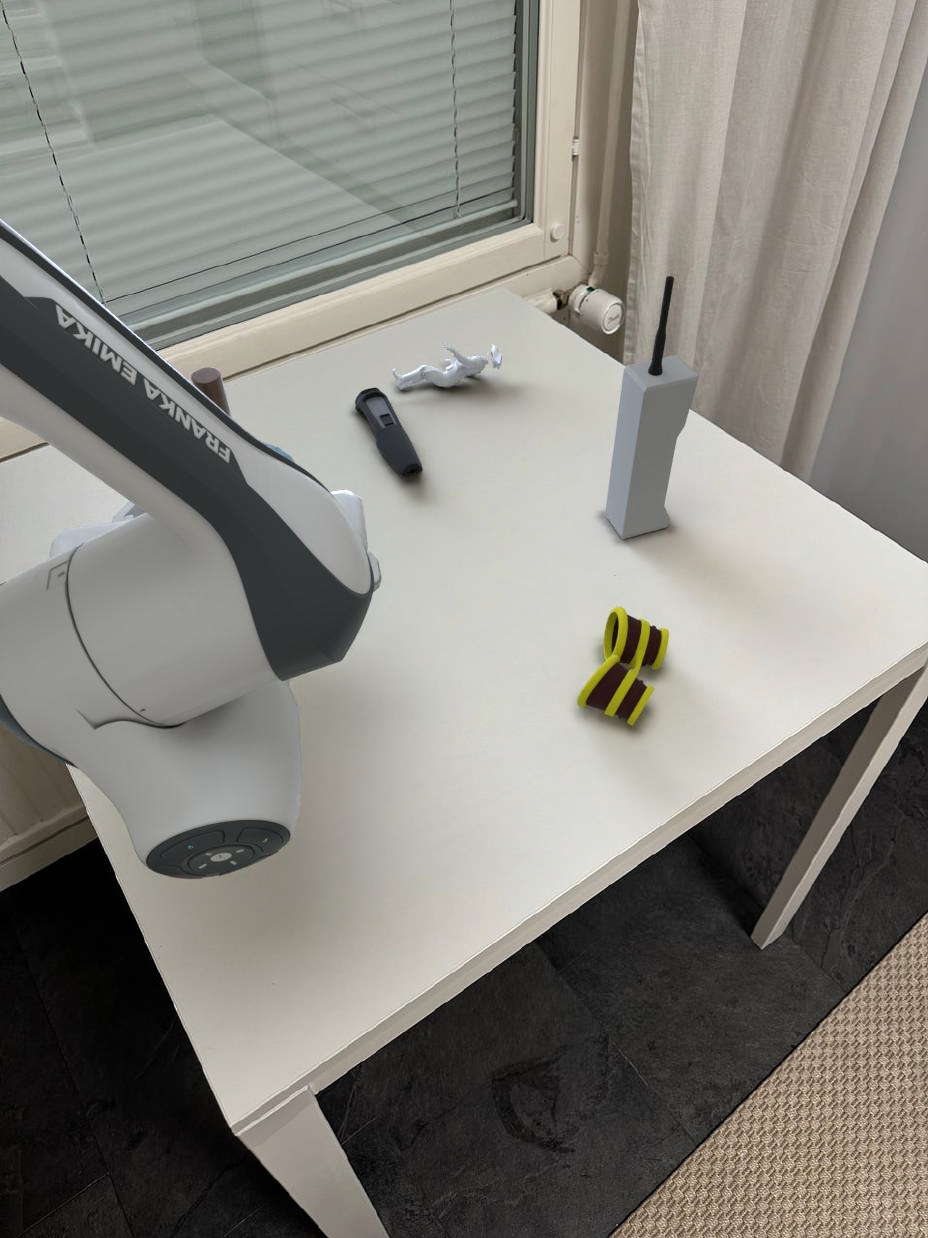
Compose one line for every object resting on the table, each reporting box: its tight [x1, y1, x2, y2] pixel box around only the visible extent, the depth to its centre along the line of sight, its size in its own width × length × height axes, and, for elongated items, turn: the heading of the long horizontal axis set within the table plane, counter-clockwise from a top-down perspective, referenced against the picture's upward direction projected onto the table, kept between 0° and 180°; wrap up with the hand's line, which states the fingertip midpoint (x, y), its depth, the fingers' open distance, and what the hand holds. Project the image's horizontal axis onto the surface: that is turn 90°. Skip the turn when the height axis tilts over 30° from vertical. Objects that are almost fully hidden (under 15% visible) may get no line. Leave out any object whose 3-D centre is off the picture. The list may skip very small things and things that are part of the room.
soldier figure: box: [392, 343, 503, 391], centre depth 101 cm, size 8×5×12 cm
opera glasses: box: [576, 606, 670, 726], centre depth 71 cm, size 10×5×5 cm, turn 159°
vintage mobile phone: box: [604, 275, 699, 540], centre depth 77 cm, size 4×5×25 cm
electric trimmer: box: [354, 387, 424, 478], centre depth 94 cm, size 4×16×3 cm, turn 21°
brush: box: [190, 366, 233, 419], centre depth 74 cm, size 5×5×20 cm
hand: (214, 483), depth 63 cm, fingers open, 8 cm apart
